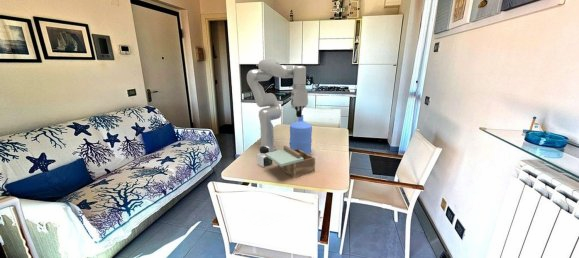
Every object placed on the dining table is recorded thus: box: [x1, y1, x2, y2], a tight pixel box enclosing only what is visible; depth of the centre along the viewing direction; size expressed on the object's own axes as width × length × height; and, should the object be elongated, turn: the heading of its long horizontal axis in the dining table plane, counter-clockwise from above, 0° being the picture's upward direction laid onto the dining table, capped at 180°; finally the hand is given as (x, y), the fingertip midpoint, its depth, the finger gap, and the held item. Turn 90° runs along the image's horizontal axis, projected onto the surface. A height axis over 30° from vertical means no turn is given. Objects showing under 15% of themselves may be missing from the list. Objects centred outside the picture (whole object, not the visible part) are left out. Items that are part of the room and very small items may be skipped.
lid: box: [265, 145, 304, 168], centre depth 140 cm, size 18×15×4 cm
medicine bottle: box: [256, 146, 273, 168], centre depth 152 cm, size 7×7×12 cm
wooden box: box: [277, 149, 316, 179], centre depth 146 cm, size 18×15×9 cm
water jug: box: [289, 114, 313, 155], centre depth 169 cm, size 16×16×28 cm
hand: (298, 116), depth 148 cm, fingers closed
